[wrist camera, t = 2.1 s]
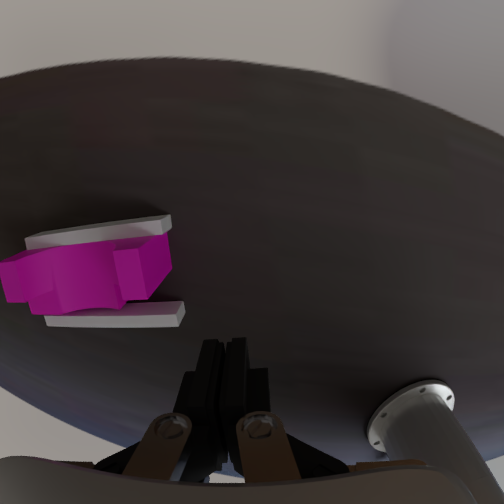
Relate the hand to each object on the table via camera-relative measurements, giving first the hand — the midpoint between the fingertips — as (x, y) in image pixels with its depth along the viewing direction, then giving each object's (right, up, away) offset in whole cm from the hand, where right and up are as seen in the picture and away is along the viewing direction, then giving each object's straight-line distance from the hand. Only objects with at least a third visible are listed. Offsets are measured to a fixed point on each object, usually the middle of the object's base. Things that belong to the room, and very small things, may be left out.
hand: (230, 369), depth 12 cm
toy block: (-14, +3, +17) cm, 22 cm away
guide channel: (-13, +3, +17) cm, 22 cm away
